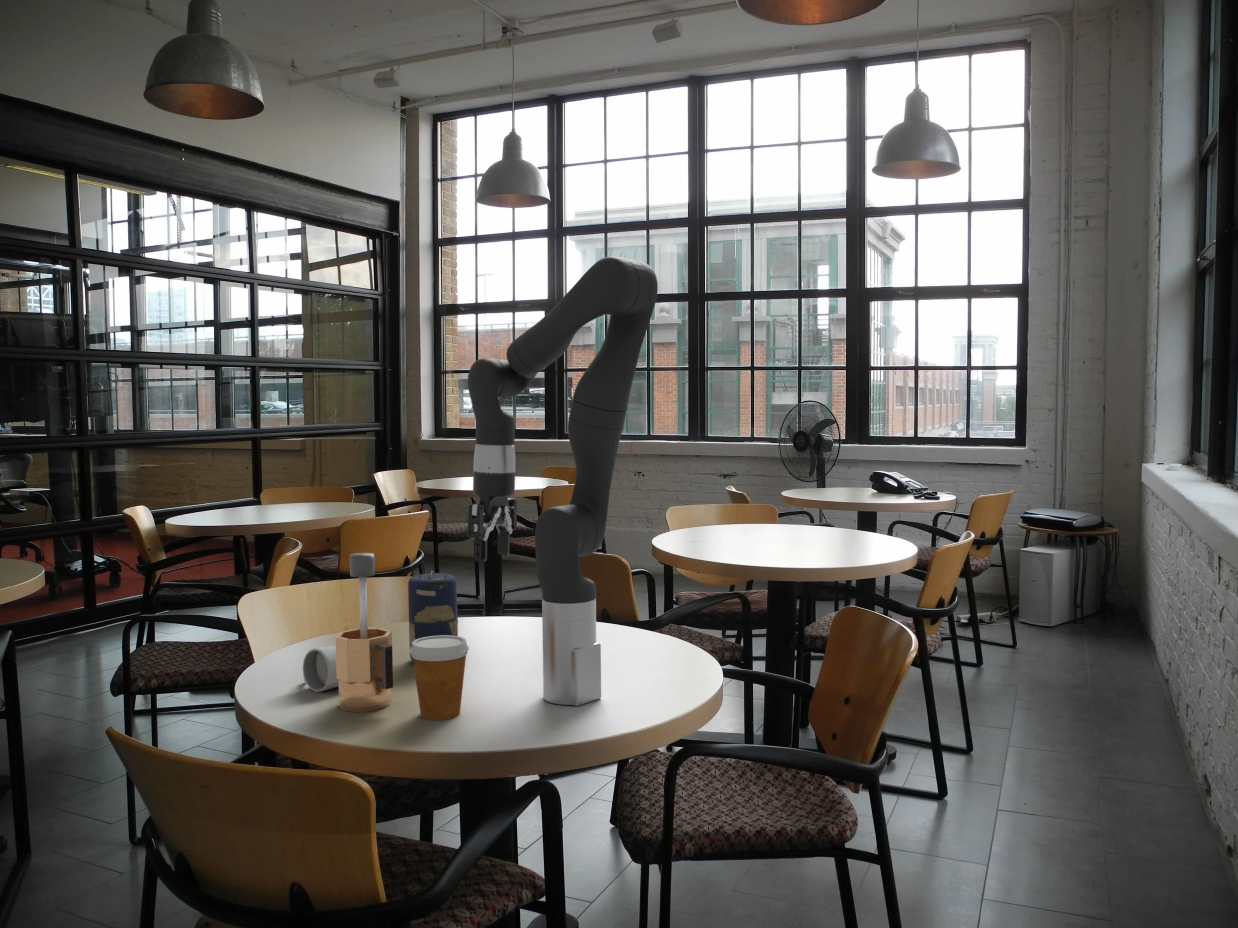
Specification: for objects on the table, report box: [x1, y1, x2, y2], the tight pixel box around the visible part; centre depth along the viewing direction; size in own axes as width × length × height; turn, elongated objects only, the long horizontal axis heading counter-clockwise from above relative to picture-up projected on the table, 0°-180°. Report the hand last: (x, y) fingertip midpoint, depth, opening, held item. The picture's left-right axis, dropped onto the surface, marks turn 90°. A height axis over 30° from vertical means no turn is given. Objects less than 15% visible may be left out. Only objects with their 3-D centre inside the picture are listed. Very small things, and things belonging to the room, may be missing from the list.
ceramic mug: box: [302, 644, 339, 693], centre depth 171 cm, size 11×8×8 cm
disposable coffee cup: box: [409, 635, 470, 721], centre depth 154 cm, size 10×10×12 cm
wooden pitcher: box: [335, 627, 394, 713], centre depth 158 cm, size 11×9×12 cm
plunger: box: [349, 552, 376, 639], centre depth 159 cm, size 4×4×15 cm
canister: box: [407, 570, 459, 661], centre depth 187 cm, size 10×10×18 cm
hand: (492, 557), depth 172 cm, fingers open, 8 cm apart
